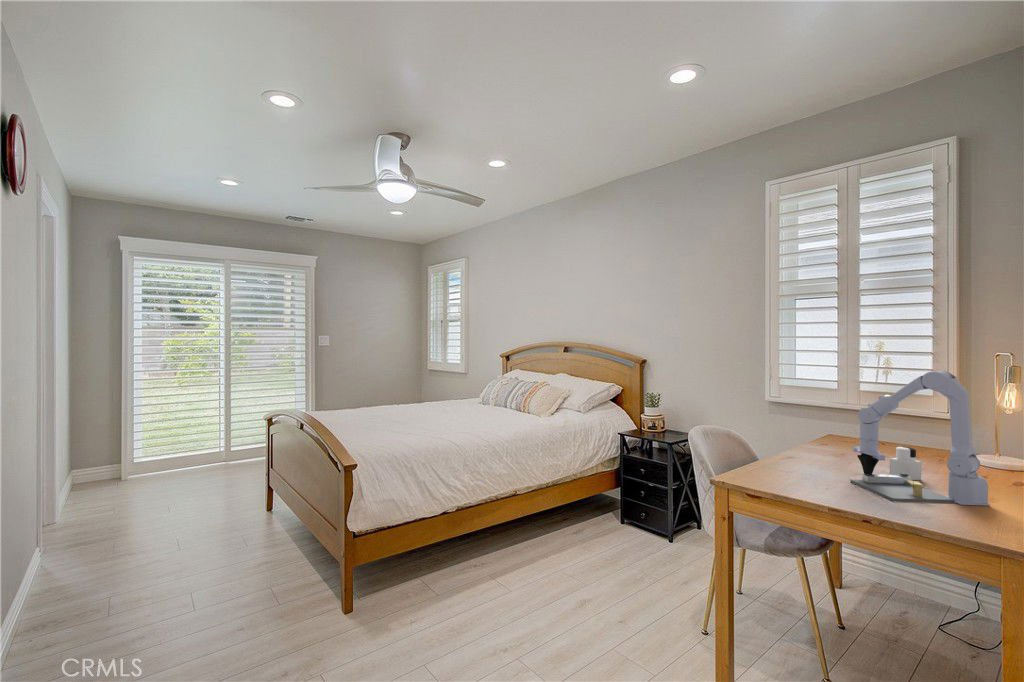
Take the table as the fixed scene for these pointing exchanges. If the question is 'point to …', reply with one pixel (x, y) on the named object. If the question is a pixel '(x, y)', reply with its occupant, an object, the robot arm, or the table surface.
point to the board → (902, 492)
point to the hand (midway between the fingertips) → (868, 474)
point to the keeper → (916, 488)
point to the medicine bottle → (906, 463)
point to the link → (885, 478)
